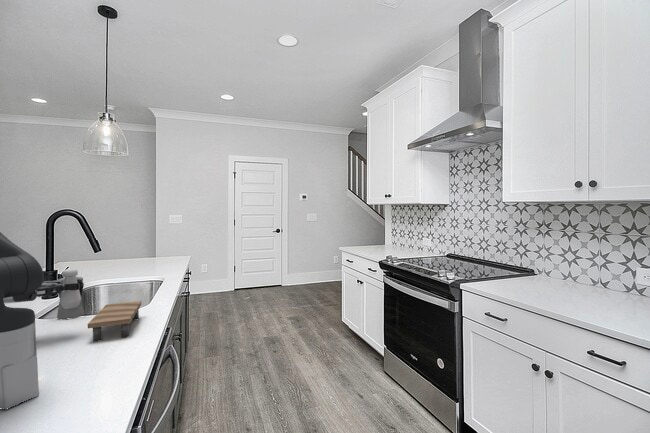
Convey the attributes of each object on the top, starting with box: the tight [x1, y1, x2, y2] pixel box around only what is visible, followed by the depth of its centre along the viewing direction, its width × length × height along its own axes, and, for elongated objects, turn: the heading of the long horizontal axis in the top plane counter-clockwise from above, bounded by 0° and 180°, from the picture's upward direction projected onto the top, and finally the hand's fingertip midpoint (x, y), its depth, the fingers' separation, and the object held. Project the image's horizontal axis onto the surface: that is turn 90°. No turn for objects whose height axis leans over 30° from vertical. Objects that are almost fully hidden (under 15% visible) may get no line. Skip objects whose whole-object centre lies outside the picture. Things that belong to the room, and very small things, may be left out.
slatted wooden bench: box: [87, 300, 142, 343], centre depth 119 cm, size 22×12×6 cm, turn 21°
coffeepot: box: [56, 276, 85, 321], centre depth 133 cm, size 15×9×18 cm, turn 66°
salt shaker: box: [59, 268, 82, 309], centre depth 111 cm, size 6×6×13 cm
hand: (80, 285), depth 112 cm, fingers closed on salt shaker, 3 cm apart
